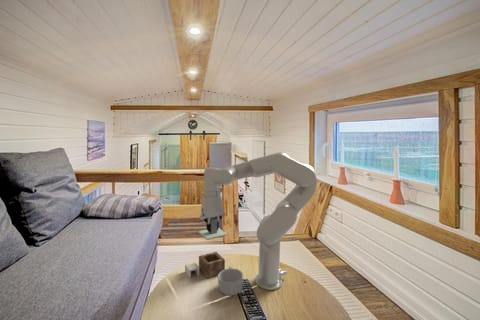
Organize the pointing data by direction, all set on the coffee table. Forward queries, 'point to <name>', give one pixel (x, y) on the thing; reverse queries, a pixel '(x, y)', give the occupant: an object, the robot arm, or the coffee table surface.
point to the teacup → (230, 281)
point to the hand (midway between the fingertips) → (212, 230)
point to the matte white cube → (191, 268)
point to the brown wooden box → (211, 264)
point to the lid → (213, 231)
